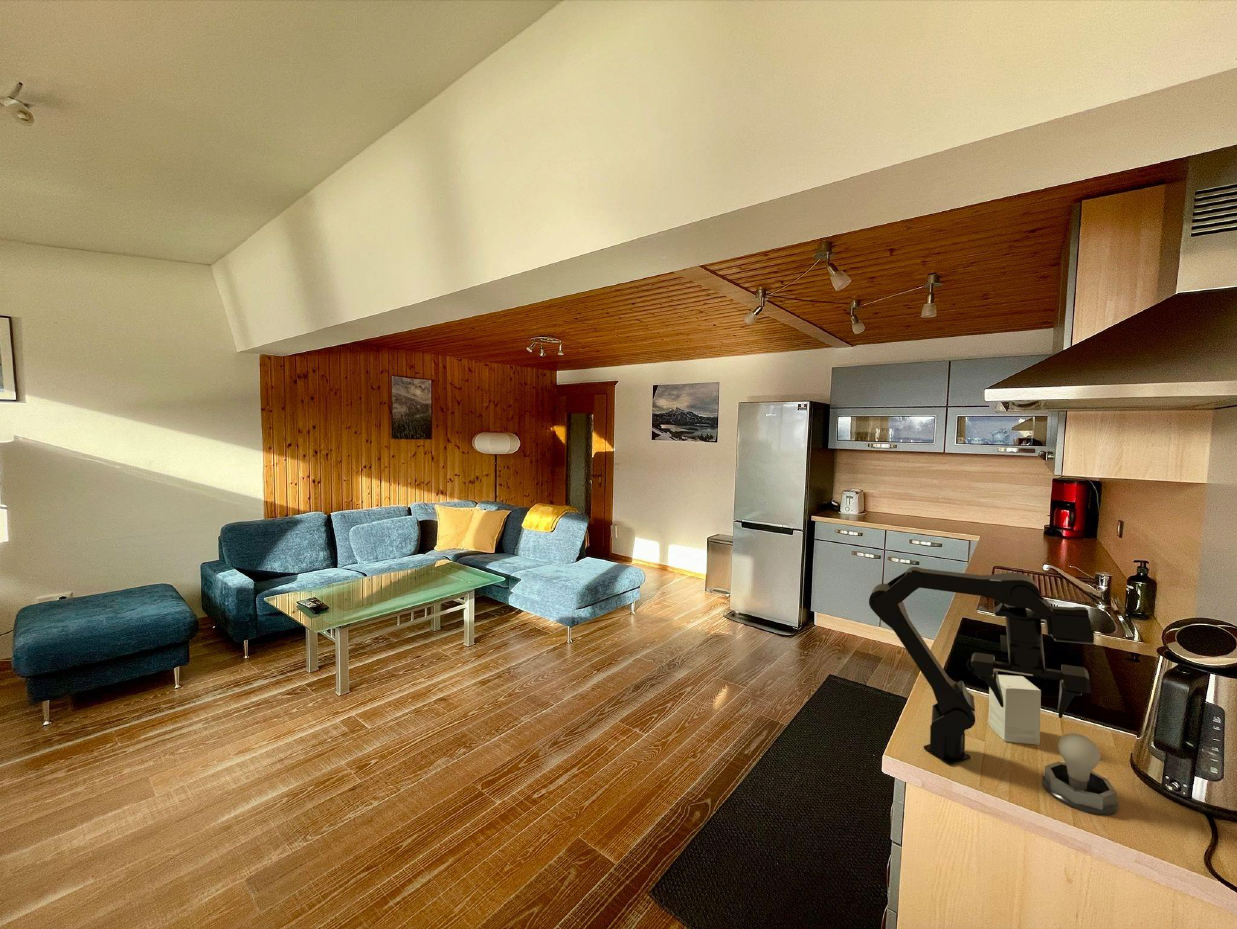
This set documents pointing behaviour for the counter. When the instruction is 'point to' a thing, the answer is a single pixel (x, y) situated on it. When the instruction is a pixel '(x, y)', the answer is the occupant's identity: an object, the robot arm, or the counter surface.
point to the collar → (1080, 791)
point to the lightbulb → (1078, 758)
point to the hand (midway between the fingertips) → (1030, 711)
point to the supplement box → (1016, 710)
